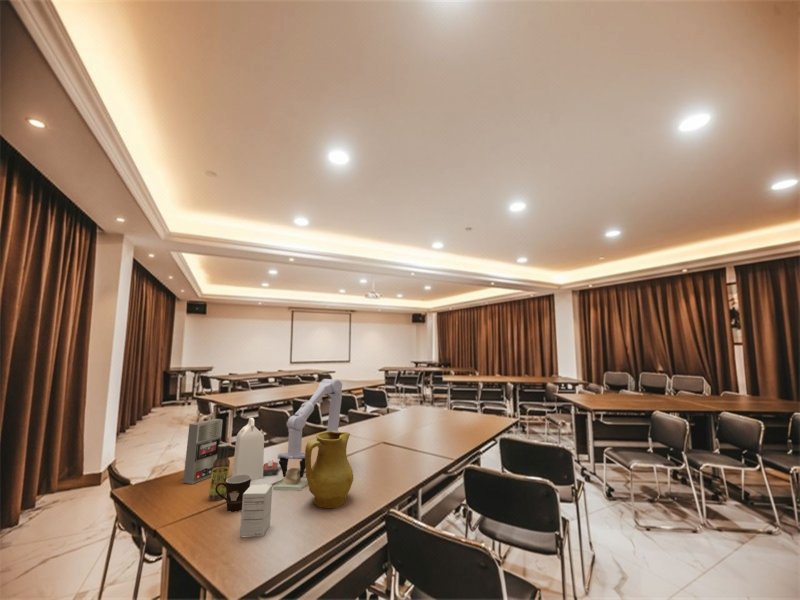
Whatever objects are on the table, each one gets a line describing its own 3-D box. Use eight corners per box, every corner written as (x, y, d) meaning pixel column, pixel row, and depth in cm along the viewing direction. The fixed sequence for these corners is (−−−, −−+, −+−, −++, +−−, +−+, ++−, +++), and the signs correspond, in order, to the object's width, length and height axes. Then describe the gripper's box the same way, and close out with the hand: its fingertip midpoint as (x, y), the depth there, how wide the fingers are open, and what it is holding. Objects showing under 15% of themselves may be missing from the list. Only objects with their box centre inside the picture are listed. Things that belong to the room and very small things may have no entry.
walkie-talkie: (281, 476, 151) (282, 463, 170) (281, 466, 152) (282, 454, 171) (260, 478, 149) (264, 464, 167) (261, 468, 149) (265, 455, 168)
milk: (263, 478, 148) (267, 419, 153) (235, 483, 142) (240, 422, 146) (257, 470, 158) (261, 415, 162) (231, 475, 151) (236, 417, 156)
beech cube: (300, 480, 143) (301, 468, 144) (296, 484, 138) (296, 472, 139) (290, 479, 144) (290, 467, 145) (285, 484, 139) (285, 471, 140)
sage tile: (311, 479, 146) (311, 477, 146) (300, 490, 134) (300, 487, 135) (285, 478, 147) (285, 476, 147) (273, 489, 135) (273, 486, 136)
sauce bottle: (207, 502, 123) (212, 447, 127) (209, 496, 129) (214, 443, 132) (226, 499, 126) (230, 445, 129) (227, 493, 131) (232, 442, 135)
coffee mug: (254, 504, 121) (256, 476, 123) (236, 515, 113) (238, 484, 115) (230, 500, 125) (233, 472, 127) (211, 510, 117) (214, 480, 119)
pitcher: (353, 509, 117) (355, 437, 122) (300, 513, 114) (304, 439, 119) (352, 490, 134) (354, 427, 138) (306, 493, 131) (309, 429, 135)
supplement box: (247, 525, 106) (250, 484, 109) (270, 524, 107) (273, 483, 109) (238, 537, 99) (242, 493, 101) (263, 536, 100) (266, 492, 102)
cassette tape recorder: (192, 484, 140) (198, 425, 145) (182, 483, 142) (188, 424, 147) (219, 474, 153) (224, 419, 158) (209, 472, 155) (214, 418, 159)
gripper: (275, 445, 140) (273, 479, 138) (307, 446, 139) (305, 480, 137) (282, 441, 147) (280, 473, 145) (313, 442, 146) (311, 474, 144)
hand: (293, 476), depth 141 cm, fingers open, 7 cm apart
